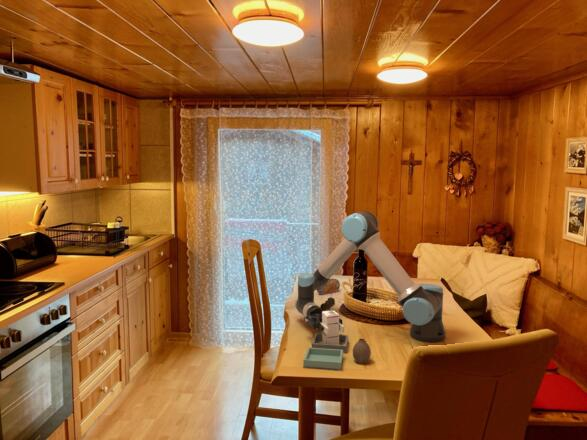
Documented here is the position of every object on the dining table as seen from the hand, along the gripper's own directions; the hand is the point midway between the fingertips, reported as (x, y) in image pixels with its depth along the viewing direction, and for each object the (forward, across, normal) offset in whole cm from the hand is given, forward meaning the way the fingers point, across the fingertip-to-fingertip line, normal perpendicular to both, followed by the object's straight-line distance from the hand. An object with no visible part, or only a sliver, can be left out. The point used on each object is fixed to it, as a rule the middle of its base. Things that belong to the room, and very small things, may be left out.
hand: (335, 330), depth 194 cm
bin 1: (-5, 0, -9) cm, 10 cm away
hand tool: (-51, -19, -9) cm, 55 cm away
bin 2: (+8, +9, -9) cm, 15 cm away
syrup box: (-5, 0, -9) cm, 10 cm away
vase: (+12, -5, -9) cm, 16 cm away
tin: (-77, -31, -9) cm, 84 cm away
